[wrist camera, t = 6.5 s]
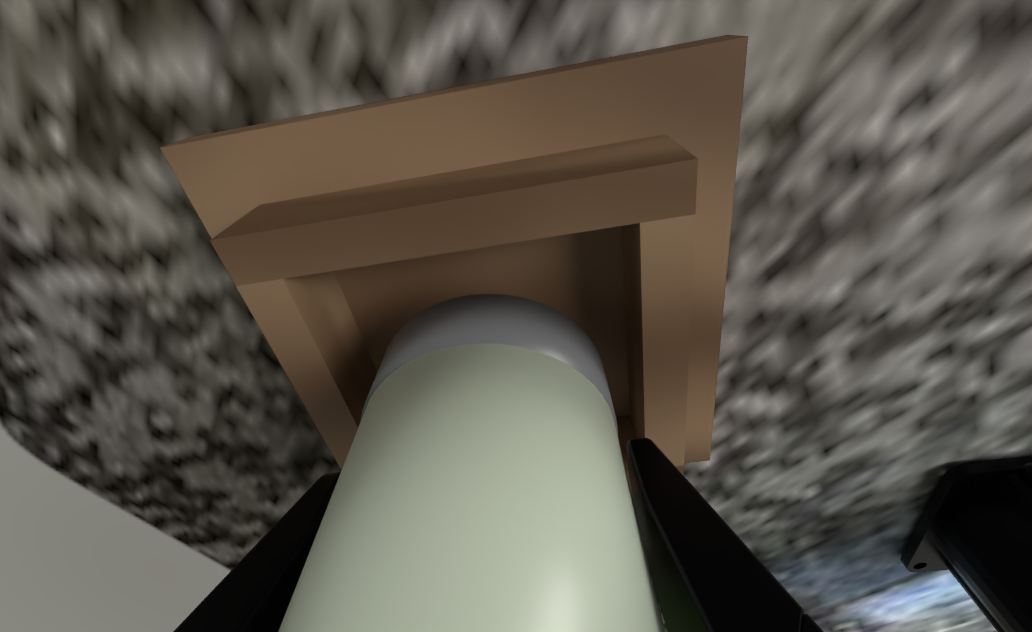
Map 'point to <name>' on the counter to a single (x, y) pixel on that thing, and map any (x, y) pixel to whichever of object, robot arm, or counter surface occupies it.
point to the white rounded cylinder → (482, 488)
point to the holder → (494, 225)
